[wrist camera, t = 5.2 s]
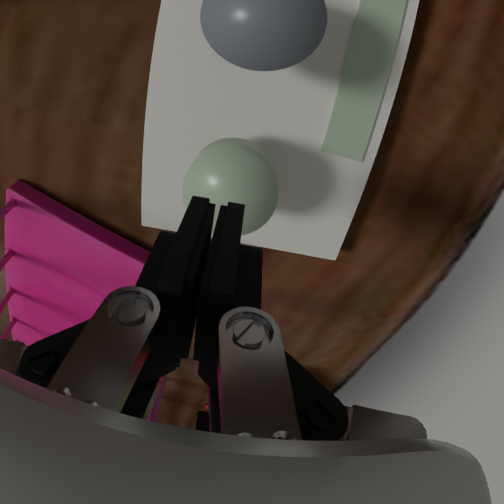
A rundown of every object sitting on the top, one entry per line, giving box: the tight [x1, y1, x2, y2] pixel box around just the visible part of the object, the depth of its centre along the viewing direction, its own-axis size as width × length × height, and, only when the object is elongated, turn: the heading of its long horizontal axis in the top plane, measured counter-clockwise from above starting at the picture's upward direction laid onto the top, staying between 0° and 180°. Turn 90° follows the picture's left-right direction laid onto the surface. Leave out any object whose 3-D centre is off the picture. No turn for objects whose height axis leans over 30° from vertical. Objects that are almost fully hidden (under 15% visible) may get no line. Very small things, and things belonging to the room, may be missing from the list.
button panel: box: [142, 0, 419, 260], centre depth 13 cm, size 26×13×2 cm, turn 169°
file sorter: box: [0, 180, 166, 422], centre depth 22 cm, size 17×25×16 cm
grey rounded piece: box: [200, 0, 327, 71], centre depth 10 cm, size 4×4×4 cm
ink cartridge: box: [195, 411, 210, 432], centre depth 37 cm, size 5×2×8 cm, turn 171°
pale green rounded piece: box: [182, 138, 278, 236], centre depth 15 cm, size 4×4×4 cm
